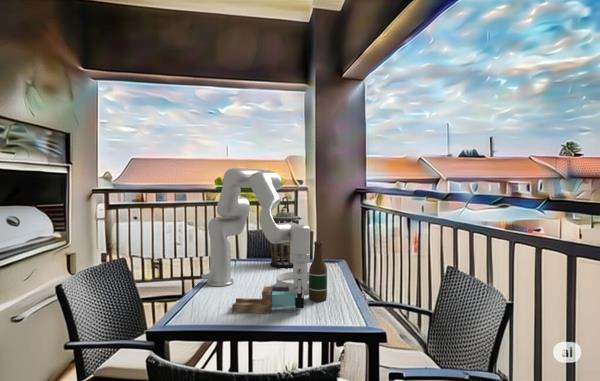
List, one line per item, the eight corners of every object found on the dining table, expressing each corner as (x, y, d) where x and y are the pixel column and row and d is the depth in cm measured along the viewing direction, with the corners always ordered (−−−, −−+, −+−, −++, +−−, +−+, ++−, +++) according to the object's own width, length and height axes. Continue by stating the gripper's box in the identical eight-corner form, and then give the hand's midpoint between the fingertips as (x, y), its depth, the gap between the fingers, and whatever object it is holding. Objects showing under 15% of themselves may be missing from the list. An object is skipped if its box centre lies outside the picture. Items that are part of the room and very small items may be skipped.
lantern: (299, 261, 229) (299, 196, 228) (303, 268, 210) (304, 197, 209) (267, 262, 227) (267, 195, 226) (269, 269, 207) (269, 197, 207)
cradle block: (267, 304, 148) (267, 292, 148) (269, 298, 156) (269, 286, 156) (287, 304, 148) (287, 292, 148) (289, 298, 156) (289, 286, 156)
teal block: (271, 305, 140) (271, 294, 140) (272, 301, 144) (272, 291, 144) (303, 306, 140) (303, 295, 140) (303, 302, 144) (304, 292, 144)
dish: (292, 279, 188) (292, 269, 188) (332, 286, 177) (332, 275, 177) (266, 290, 169) (266, 279, 169) (308, 298, 158) (308, 286, 158)
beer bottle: (321, 303, 150) (322, 243, 150) (305, 299, 155) (305, 241, 154) (330, 298, 157) (331, 241, 157) (314, 295, 161) (314, 239, 161)
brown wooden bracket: (232, 312, 139) (232, 291, 139) (236, 305, 147) (236, 286, 146) (269, 313, 139) (270, 292, 138) (272, 306, 146) (272, 286, 146)
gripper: (309, 262, 133) (309, 314, 134) (310, 253, 150) (309, 299, 150) (288, 262, 133) (288, 313, 134) (291, 253, 150) (291, 298, 150)
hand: (299, 305), depth 142 cm, fingers closed on teal block, 4 cm apart
